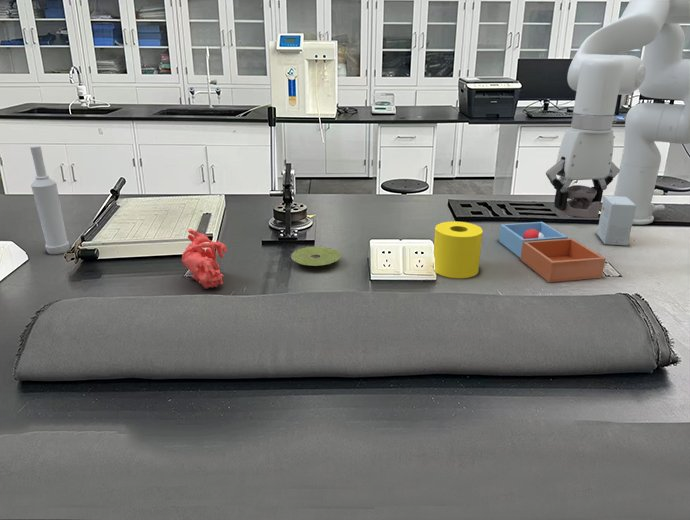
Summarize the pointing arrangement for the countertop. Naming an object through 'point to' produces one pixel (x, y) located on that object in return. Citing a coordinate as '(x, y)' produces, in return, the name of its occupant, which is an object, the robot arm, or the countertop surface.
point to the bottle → (48, 207)
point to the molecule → (532, 234)
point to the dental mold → (581, 202)
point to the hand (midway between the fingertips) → (576, 207)
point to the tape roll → (457, 249)
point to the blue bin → (514, 234)
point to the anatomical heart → (203, 259)
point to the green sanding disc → (315, 256)
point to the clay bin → (562, 260)
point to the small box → (616, 220)
